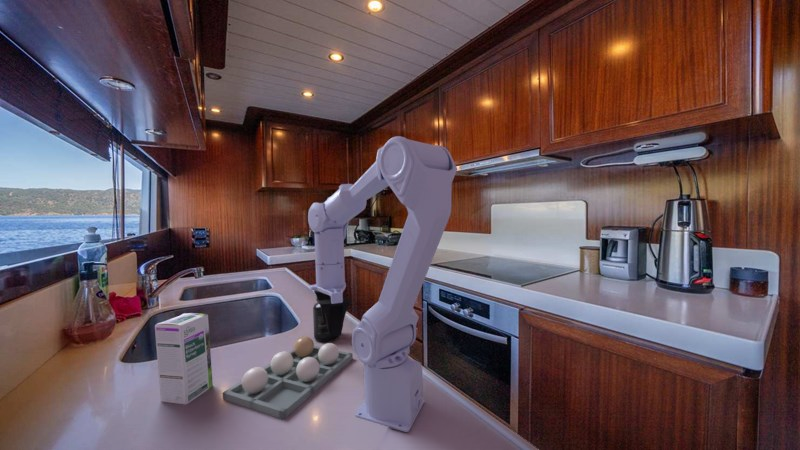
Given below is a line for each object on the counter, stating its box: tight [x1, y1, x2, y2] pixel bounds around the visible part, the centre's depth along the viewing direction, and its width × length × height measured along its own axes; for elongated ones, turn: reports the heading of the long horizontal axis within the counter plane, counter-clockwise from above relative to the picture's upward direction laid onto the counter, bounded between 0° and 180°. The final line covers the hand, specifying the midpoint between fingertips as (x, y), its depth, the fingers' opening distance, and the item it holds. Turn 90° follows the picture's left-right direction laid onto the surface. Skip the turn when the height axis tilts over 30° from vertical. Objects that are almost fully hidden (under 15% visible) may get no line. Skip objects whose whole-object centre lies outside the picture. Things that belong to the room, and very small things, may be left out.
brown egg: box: [293, 336, 315, 357], centre depth 68 cm, size 4×4×4 cm
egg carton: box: [222, 342, 354, 420], centre depth 59 cm, size 14×21×5 cm
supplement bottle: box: [312, 297, 340, 343], centre depth 78 cm, size 7×7×12 cm
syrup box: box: [154, 312, 214, 405], centre depth 54 cm, size 6×6×14 cm
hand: (332, 328), depth 61 cm, fingers open, 7 cm apart
